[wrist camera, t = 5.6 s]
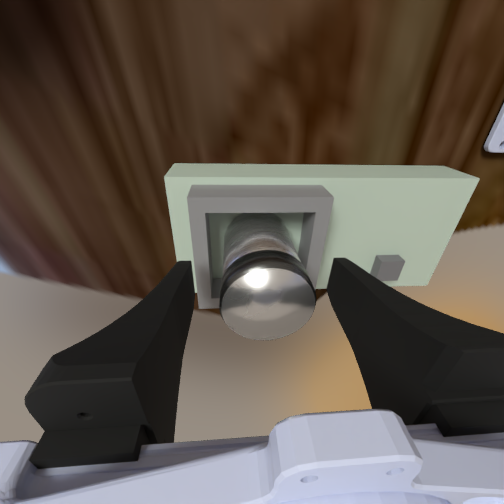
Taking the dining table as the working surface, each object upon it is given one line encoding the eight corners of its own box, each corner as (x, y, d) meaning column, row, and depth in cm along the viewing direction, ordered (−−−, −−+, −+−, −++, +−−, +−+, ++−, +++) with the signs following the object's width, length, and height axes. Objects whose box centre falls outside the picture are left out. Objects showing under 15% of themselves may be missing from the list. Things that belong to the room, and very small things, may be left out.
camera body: (443, 165, 18) (511, 189, 13) (403, 262, 22) (446, 304, 18) (174, 163, 16) (155, 189, 12) (187, 267, 20) (176, 314, 16)
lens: (293, 208, 15) (326, 268, 10) (286, 266, 17) (309, 340, 12) (221, 207, 15) (217, 269, 10) (223, 267, 17) (220, 343, 12)
